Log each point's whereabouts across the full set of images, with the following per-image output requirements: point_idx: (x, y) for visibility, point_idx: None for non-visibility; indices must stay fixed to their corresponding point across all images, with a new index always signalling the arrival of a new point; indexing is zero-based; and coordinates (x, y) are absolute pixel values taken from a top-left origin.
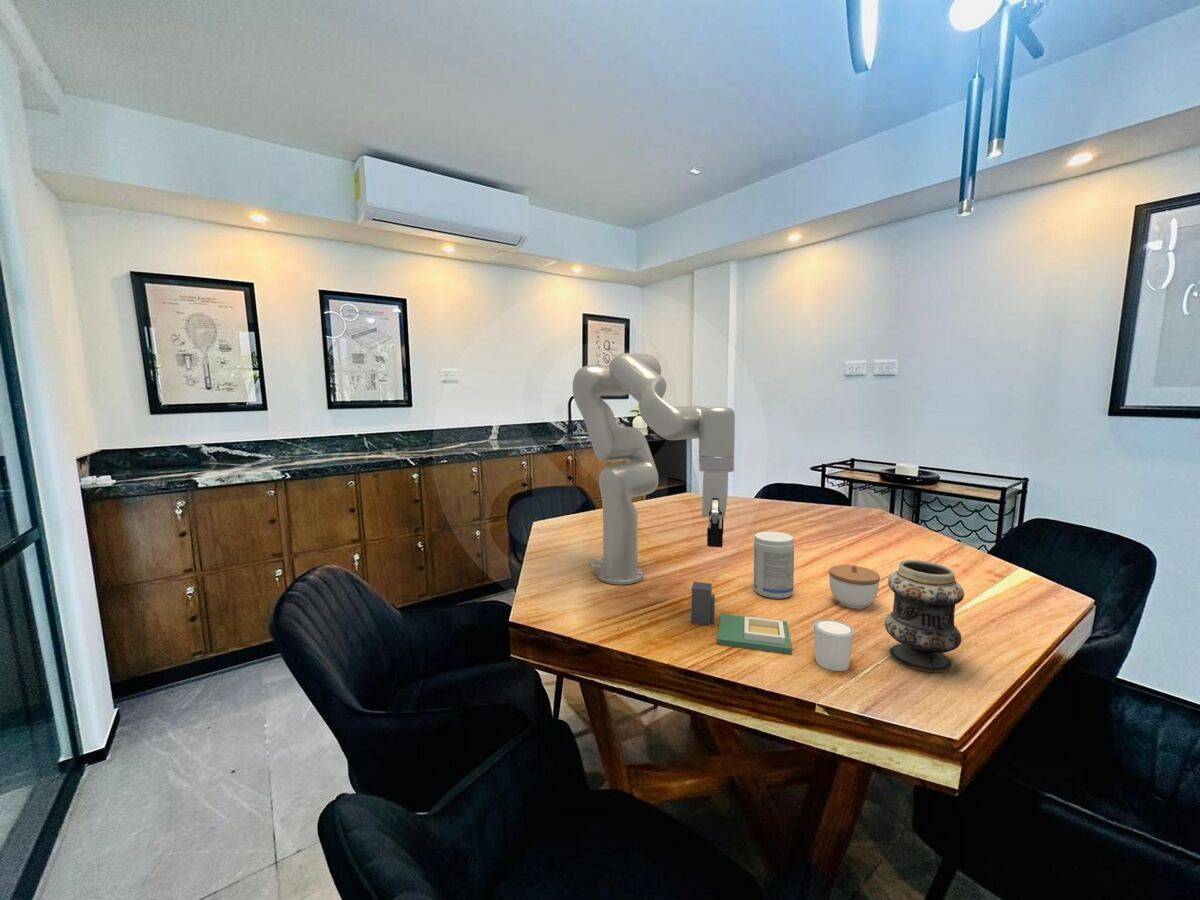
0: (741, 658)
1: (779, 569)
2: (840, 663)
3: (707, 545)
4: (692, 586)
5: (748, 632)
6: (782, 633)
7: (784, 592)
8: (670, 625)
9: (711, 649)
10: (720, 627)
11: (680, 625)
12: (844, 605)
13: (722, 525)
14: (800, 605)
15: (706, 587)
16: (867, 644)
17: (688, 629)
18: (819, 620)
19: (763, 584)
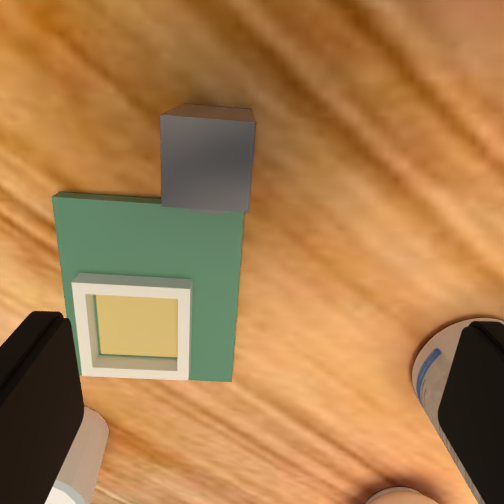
0: (8, 254)
1: (454, 451)
2: None
3: (32, 312)
4: (186, 118)
5: (78, 293)
6: (107, 372)
7: (419, 400)
8: (145, 18)
9: (23, 174)
10: (136, 207)
11: (157, 61)
12: (377, 493)
13: (483, 497)
14: (373, 413)
15: (191, 188)
16: (184, 493)
17: (134, 94)
18: (69, 489)
19: (445, 362)
